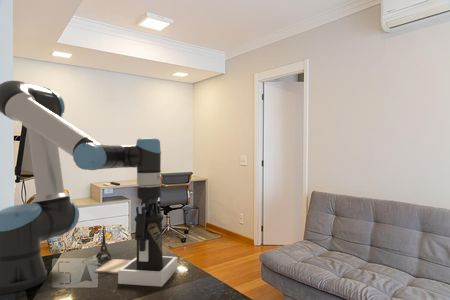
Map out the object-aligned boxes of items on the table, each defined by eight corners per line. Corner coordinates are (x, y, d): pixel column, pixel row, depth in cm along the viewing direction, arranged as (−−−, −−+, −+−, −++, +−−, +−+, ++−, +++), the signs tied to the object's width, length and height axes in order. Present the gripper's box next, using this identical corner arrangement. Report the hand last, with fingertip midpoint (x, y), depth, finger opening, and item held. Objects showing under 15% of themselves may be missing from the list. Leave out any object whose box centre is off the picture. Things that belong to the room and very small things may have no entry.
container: (156, 282, 90) (156, 216, 91) (130, 280, 92) (129, 215, 92) (167, 271, 99) (167, 211, 99) (143, 269, 100) (142, 210, 101)
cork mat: (94, 272, 99) (94, 270, 99) (112, 260, 109) (112, 259, 110) (125, 274, 97) (125, 272, 97) (140, 262, 108) (140, 260, 108)
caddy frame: (118, 283, 90) (118, 270, 90) (139, 266, 103) (139, 255, 104) (161, 286, 87) (161, 272, 87) (177, 268, 101) (177, 256, 101)
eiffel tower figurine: (103, 251, 122) (103, 219, 122) (125, 253, 119) (125, 220, 120) (77, 264, 107) (77, 227, 108) (101, 266, 105) (101, 229, 105)
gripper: (146, 189, 85) (146, 269, 85) (171, 182, 105) (171, 246, 105) (122, 189, 86) (122, 267, 86) (151, 182, 107) (151, 246, 106)
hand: (149, 256), depth 95 cm, fingers closed on container, 8 cm apart
